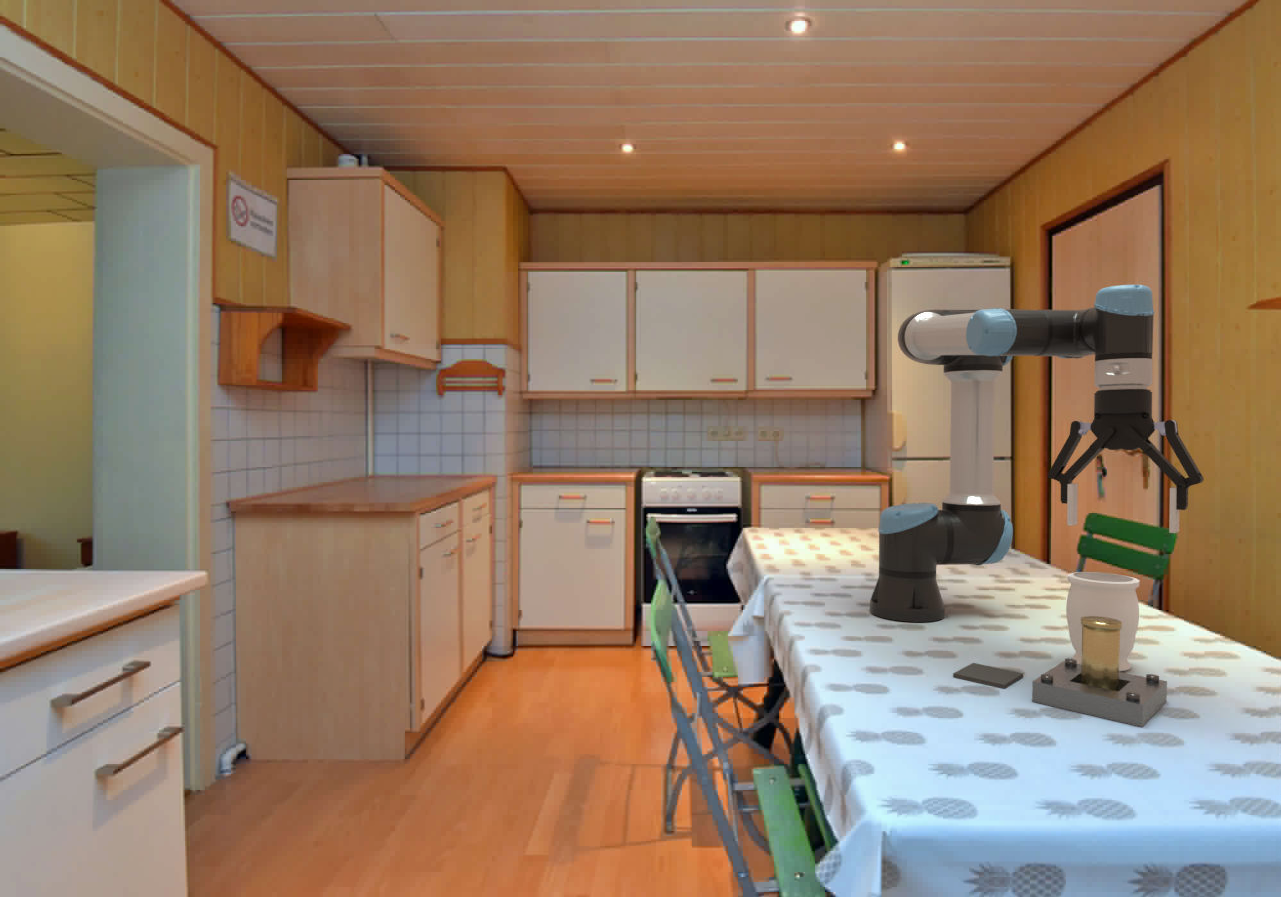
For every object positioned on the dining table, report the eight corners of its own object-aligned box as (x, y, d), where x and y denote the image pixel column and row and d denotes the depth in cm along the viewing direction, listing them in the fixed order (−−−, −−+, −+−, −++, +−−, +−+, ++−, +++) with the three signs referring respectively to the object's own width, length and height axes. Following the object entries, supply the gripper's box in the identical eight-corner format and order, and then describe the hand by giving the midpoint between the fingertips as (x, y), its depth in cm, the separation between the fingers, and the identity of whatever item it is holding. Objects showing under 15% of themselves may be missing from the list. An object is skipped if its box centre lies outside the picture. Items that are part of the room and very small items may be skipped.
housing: (1032, 701, 117) (1032, 675, 117) (1063, 679, 127) (1063, 656, 127) (1142, 727, 108) (1142, 699, 107) (1166, 701, 118) (1167, 675, 117)
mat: (953, 677, 129) (953, 673, 129) (973, 666, 134) (973, 662, 134) (1004, 688, 123) (1004, 684, 123) (1023, 677, 129) (1023, 673, 129)
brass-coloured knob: (1074, 701, 117) (1076, 620, 117) (1085, 693, 121) (1086, 614, 121) (1114, 710, 114) (1116, 626, 113) (1124, 701, 117) (1126, 620, 117)
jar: (1129, 659, 138) (1131, 573, 138) (1145, 677, 129) (1147, 584, 128) (1060, 653, 142) (1062, 569, 141) (1071, 670, 132) (1072, 580, 132)
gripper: (1027, 390, 128) (1026, 524, 128) (1219, 384, 110) (1217, 537, 111) (1042, 392, 133) (1041, 520, 133) (1227, 386, 116) (1225, 533, 116)
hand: (1121, 528), depth 122 cm, fingers open, 13 cm apart
